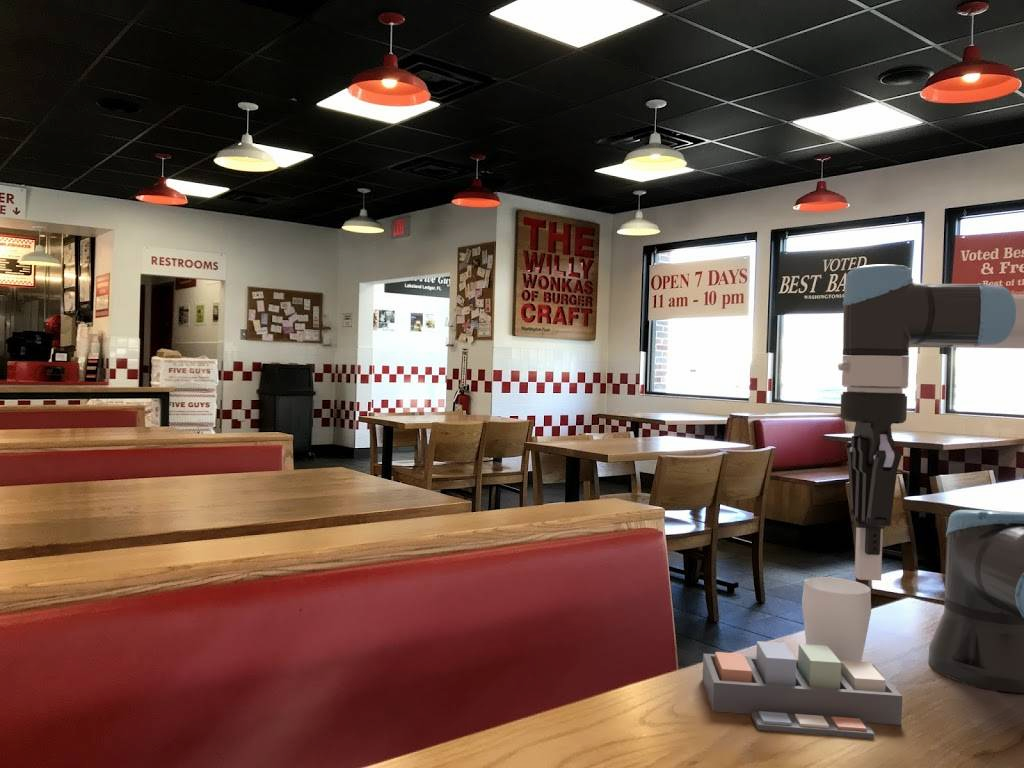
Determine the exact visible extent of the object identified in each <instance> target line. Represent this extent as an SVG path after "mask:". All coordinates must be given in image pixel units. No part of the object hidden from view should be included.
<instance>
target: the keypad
mask: <svg viewBox="0 0 1024 768" xmlns="http://www.w3.org/2000/svg"><path fill="white" fill-rule="evenodd" d="M702 655H703V656H702V657H703V658H702V682H703V686H704V688H705V691H706V695H707V697H708V700H709V703H710V706H711V709H712V711H713V712H719V713H720V712H724V713H732V714H734V713H736V714H738V713H739V714H747V715H748V714H750V715H752V711H754V712H759V711H764V712H777V713H787V714H794V715H795V714H804V715H818V716H823V717H845V718H858V719H861V720H865V722H866V723H867V724H882V725H884V724H885V725H893V726H895V725H896V726H897V725H898V726H901V725H902V718H903V717H902V714H903V712H902V711H903V695H902V694H901V692H900V691H898V689H896V687H895V686H894V685H893V684H892V683H891V682H890V681H889V679H887V677H885V675H884V674H883V673H882V672H881V671H880V670H879V669H878V668H877V667H876V666H875V665H874V664H871V665H872V666H873V667H874V668H875V669H876V670H877V671H878V672H879V673H880V675H881V676H882V677H883V678H884V679H885V680H886V688H885V692H875V691H861V690H854V689H853V688H852V687H851V686H850V684H849V683H848V682H847V680H846V679H845V678H844V677H843V675H842V674H841V681H840V689H832V688H818V687H809V686H808V685H807V683H806V682H805V680H804V679H803V677H802V676H801V674H800V673H799V671H798V659H796V660H797V662H796V686H790V685H776V684H764V682H763V680H762V678H761V676H760V674H759V672H758V670H757V668H756V656H747V655H746V656H745V655H744V656H745V658H746V660H747V662H748V664H749V666H750V668H751V670H752V682H751V683H747V682H733V681H720V680H719V677H718V675H717V672H716V670H715V653H703V654H702Z"/></svg>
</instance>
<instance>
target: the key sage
mask: <svg viewBox="0 0 1024 768" xmlns="http://www.w3.org/2000/svg"><path fill="white" fill-rule="evenodd" d="M797 652H798V653H797V654H798V655H797V660H798V671H799V673H800V674H801V676H802V677H803V679H804V680H805V682H806V683H807V685H808V686H809V687H818V688H832V689H840V681H841V662H840V661H839V659H838V658H837V657H836V656H835V655H834V653H833V652H832V651H831V650H830V648H829V647H828V646H823V645H808V644H806V643H805V644H804V643H798V651H797Z"/></svg>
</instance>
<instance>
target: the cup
mask: <svg viewBox="0 0 1024 768" xmlns="http://www.w3.org/2000/svg"><path fill="white" fill-rule="evenodd" d="M871 594H872V593H871V588H870V586H868V585H867V584H865V583H861V582H858V581H856V580H851V579H847V578H839V577H831V576H816V577H809V578H805V579H804V581H803V590H802V597H801V606H802V617H803V626H804V635H805V644H808V645H823V646H828V647H829V648H830V650H831V651H832V652H833V653H834V655H835V656H836V657H837V658H838V659H839V661H840V660H843V661H858V662H863V661H862V660H863V656H864V650H865V645H866V639H867V636H868V632H869V631H868V630H869V625H870V620H871V616H872V604H871V603H872V601H871V597H872V595H871Z"/></svg>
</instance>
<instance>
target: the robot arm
mask: <svg viewBox="0 0 1024 768" xmlns="http://www.w3.org/2000/svg"><path fill="white" fill-rule="evenodd" d="M912 276H913V275H912V271H911V269H910V267H908V266H906V265H901V264H900V265H899V264H888V263H887V264H885V263H884V264H867V265H861V266H857V267H853V268H852V269H850V270H849V271H848V272H847V274H846V278H845V285H844V291H843V302H842V307H843V320H842V321H843V325H842V327H843V329H842V330H843V331H842V332H843V333H842V334H843V336H842V337H843V338H842V344H843V345H842V346H843V347H842V348H843V349H842V362H839V363H838V365H837V367H838V369H837V370H839V371H842V373H841V385H842V387H844V388H846V391H843V392H842V394H841V393H840V418H841V420H843V421H845V422H849V423H851V422H852V423H854V430H853V435H852V436H851V438H850V441H846V444H845V449H846V454H847V460H848V461H847V462H848V466H847V467H848V485H849V507H850V508H849V513H850V516H852V517H854V519H853V520H854V522H855V523H854V524H855V553H854V554H855V555H854V577H855V578H856V579H857V580H860V581H861V580H863V581H882V563H883V560H882V559H883V558H882V557H883V536H884V535H883V532H884V529H885V527H890V526H891V524H892V523H891V522H892V517H893V516H892V514H893V507H894V500H895V499H894V498H895V492H896V491H895V490H896V483H897V475H898V469H899V465H900V462H901V459H902V453H901V451H900V450H895V440H894V438H893V433H892V425H893V424H896V425H897V424H899V425H900V424H904V423H905V422H906V420H907V415H908V414H907V412H908V410H907V409H908V395H906V393H903V390H904V389H907V388H909V372H910V371H909V368H910V365H909V364H910V355H909V354H910V348H965V349H966V348H968V349H970V348H972V349H973V348H974V349H977V348H979V349H985V348H986V349H1024V294H1012V292H1011V291H1010V290H1009V289H1008V288H1006V287H1004V286H1002V285H995V284H983V283H982V282H979V283H922V282H921V283H920V282H916V281H915V282H913V280H914V279H913V277H912ZM945 537H946V549H945V550H946V553H945V554H946V555H945V558H946V559H945V579H944V580H945V581H944V582H945V584H944V585H945V586H944V607H943V613H942V615H941V617H940V620H939V622H938V625H937V627H936V629H935V632H934V634H933V636H932V638H931V641H930V643H929V647H928V664H929V665H930V667H932V668H933V669H934V670H935V671H937V672H938V673H940V674H942V675H943V676H946V677H947V678H950V679H953V680H954V681H958V682H961V683H963V684H968V685H969V686H974V687H978V688H982V689H987V690H992V691H996V692H997V691H999V692H1002V693H1003V692H1005V693H1015V694H1024V511H1023V512H1022V511H1019V512H1018V511H1005V510H1004V511H1003V510H983V509H982V510H981V509H980V510H979V509H959V510H958V509H957V510H955V511H952V512H951V514H950V515H949V518H948V523H947V529H946V533H945Z"/></svg>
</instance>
